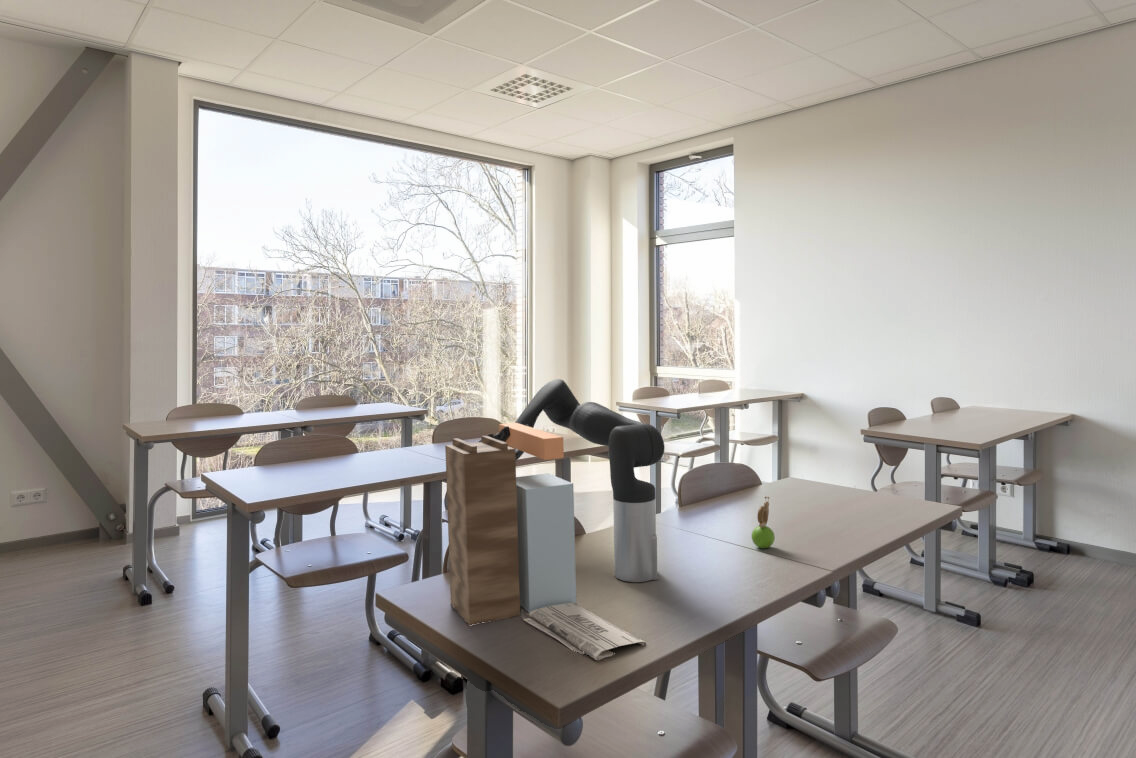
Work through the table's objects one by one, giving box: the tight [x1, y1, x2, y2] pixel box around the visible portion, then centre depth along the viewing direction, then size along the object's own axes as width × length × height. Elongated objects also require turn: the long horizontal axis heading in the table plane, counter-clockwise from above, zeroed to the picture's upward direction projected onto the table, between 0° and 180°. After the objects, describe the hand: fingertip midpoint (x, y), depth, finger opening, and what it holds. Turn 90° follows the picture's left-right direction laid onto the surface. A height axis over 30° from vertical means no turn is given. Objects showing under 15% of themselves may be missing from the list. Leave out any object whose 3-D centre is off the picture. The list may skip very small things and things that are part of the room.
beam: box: [498, 422, 565, 461], centre depth 141 cm, size 24×4×4 cm, turn 26°
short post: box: [516, 473, 577, 614], centre depth 139 cm, size 12×10×24 cm
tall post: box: [444, 435, 521, 626], centre depth 133 cm, size 12×10×33 cm
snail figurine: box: [751, 496, 776, 549], centre depth 169 cm, size 5×6×12 cm
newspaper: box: [523, 603, 647, 661], centre depth 123 cm, size 23×12×2 cm, turn 33°
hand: (518, 429), depth 146 cm, fingers closed on beam, 4 cm apart
